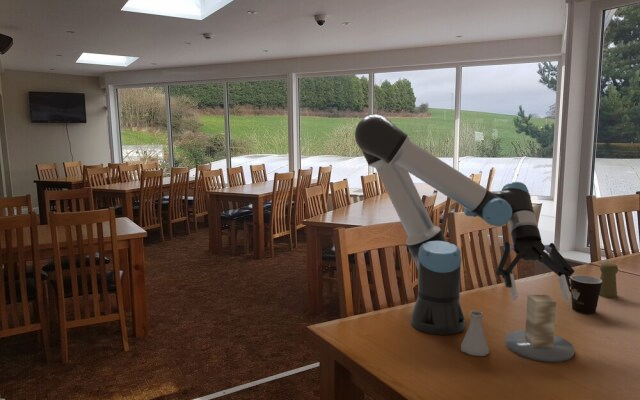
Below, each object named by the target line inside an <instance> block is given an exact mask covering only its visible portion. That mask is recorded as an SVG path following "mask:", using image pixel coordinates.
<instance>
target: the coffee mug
mask: <svg viewBox="0 0 640 400" xmlns="http://www.w3.org/2000/svg"><path fill="white" fill-rule="evenodd" d="M569 281H570V284H571V287H570V288H569V292H570V295H571V309H572V310H573V311H575V312H576V313H580V314H586V315H591V314H595V313H597V312H596V311H597V307H598V302H599V298H600V296H599V294H600V289H601V285H602V280H601V279H600V277H599V278H598V277H595V276H592V275H591V276H590V275H586V274H585V275H583V274H572V275H571V276H570V277H569Z"/></svg>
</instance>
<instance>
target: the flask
mask: <svg viewBox="0 0 640 400" xmlns="http://www.w3.org/2000/svg"><path fill="white" fill-rule="evenodd" d="M469 316H470V321H469V325H468V329H467V330H466V332H465V333H466V334H465V336H464V338H463V340H462V342H461V344H460V351H461V352H463V353H465V354H468V355H470V356H477V357H485V356H486V355H488V354H490V349H489V346H488V341H487V339H486V337H485V333H484V330H483V324H482V321H483V319H482V317H483V316H484V313H483V311H478V310H471V311H469Z"/></svg>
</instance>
